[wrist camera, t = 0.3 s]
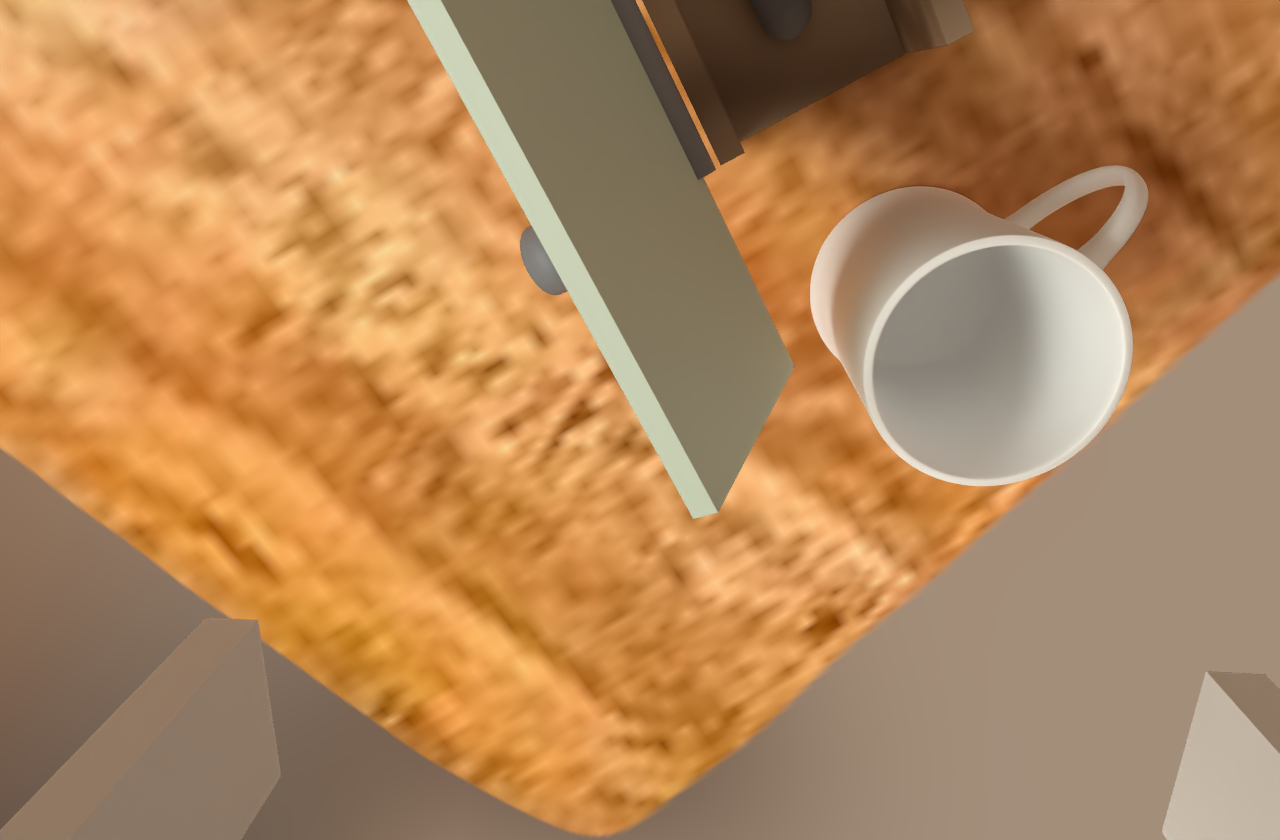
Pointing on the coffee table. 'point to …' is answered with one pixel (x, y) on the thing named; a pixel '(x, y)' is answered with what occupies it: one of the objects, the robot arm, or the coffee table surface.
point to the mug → (979, 326)
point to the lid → (622, 218)
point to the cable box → (788, 55)
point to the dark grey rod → (783, 17)
